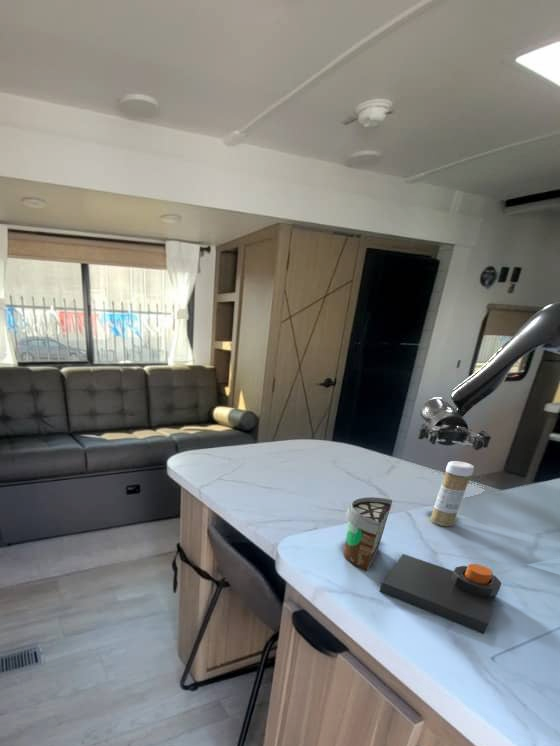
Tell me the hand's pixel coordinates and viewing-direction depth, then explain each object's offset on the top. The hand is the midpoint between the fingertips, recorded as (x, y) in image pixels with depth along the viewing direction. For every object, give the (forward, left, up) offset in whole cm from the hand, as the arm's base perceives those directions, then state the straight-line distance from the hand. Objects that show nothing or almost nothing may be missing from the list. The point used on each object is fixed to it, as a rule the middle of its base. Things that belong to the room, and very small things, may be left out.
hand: (456, 442), depth 91 cm
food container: (+6, +38, -15) cm, 41 cm away
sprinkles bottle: (-3, +11, -15) cm, 19 cm away
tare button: (-12, +37, -12) cm, 41 cm away
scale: (-8, +41, -15) cm, 44 cm away
